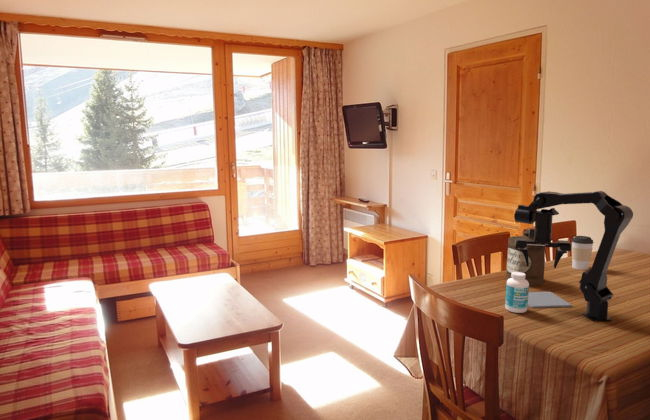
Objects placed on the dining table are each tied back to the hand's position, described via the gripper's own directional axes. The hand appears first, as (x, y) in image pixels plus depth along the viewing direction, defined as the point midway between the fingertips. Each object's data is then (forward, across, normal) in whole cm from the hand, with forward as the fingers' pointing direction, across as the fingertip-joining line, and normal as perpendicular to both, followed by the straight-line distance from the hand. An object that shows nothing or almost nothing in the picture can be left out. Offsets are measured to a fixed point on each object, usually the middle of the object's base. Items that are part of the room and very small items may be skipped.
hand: (541, 267), depth 176 cm
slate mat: (+13, -1, -1) cm, 13 cm away
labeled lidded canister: (+13, +4, -25) cm, 29 cm away
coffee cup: (+13, -22, -54) cm, 60 cm away
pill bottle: (+13, +9, +12) cm, 20 cm away
